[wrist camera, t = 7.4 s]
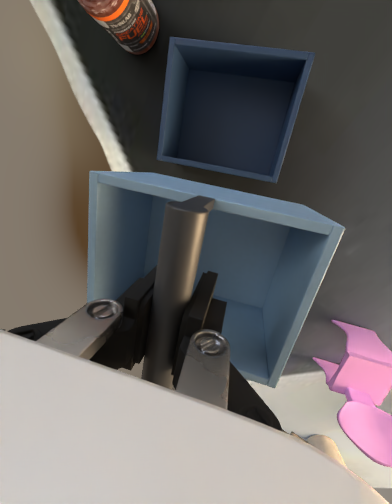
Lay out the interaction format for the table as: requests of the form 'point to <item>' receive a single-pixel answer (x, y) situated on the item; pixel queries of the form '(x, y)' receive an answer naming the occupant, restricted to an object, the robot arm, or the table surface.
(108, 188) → the light blue bin
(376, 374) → the toy chair
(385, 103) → the table surface
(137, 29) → the supplement bottle
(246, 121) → the navy bin
